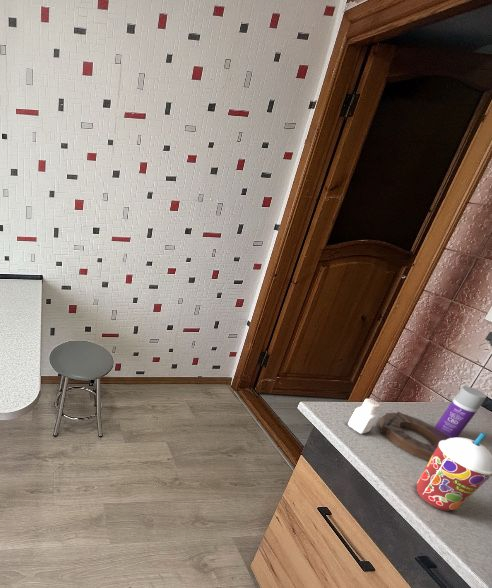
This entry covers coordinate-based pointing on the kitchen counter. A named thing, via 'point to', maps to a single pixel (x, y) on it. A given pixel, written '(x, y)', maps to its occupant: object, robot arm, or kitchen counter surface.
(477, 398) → the container
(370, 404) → the pepper shaker
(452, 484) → the smoothie
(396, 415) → the collar
